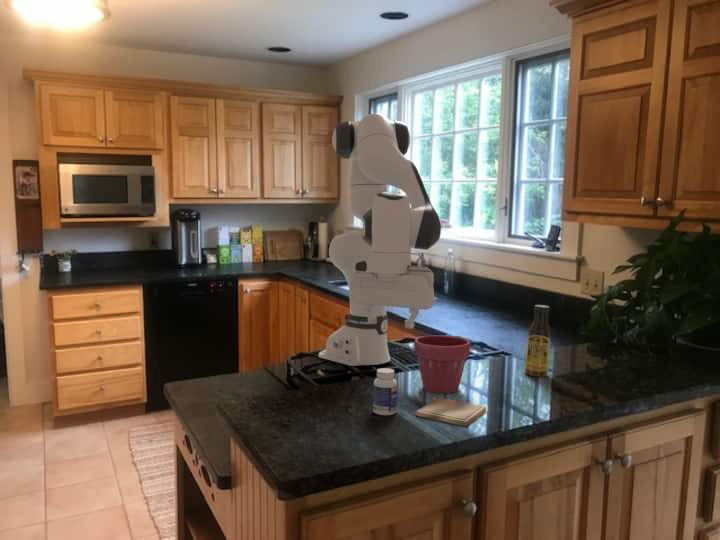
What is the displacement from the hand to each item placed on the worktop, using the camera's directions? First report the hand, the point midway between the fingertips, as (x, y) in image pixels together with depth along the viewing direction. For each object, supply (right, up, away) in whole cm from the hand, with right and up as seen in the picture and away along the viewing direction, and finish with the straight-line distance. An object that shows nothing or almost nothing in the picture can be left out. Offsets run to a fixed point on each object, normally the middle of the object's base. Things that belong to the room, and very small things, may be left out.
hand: (390, 325), depth 136 cm
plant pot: (+14, -18, +21) cm, 31 cm away
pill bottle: (-1, -20, +2) cm, 20 cm away
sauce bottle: (+43, -17, +35) cm, 59 cm away
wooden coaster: (+14, -20, +2) cm, 25 cm away
